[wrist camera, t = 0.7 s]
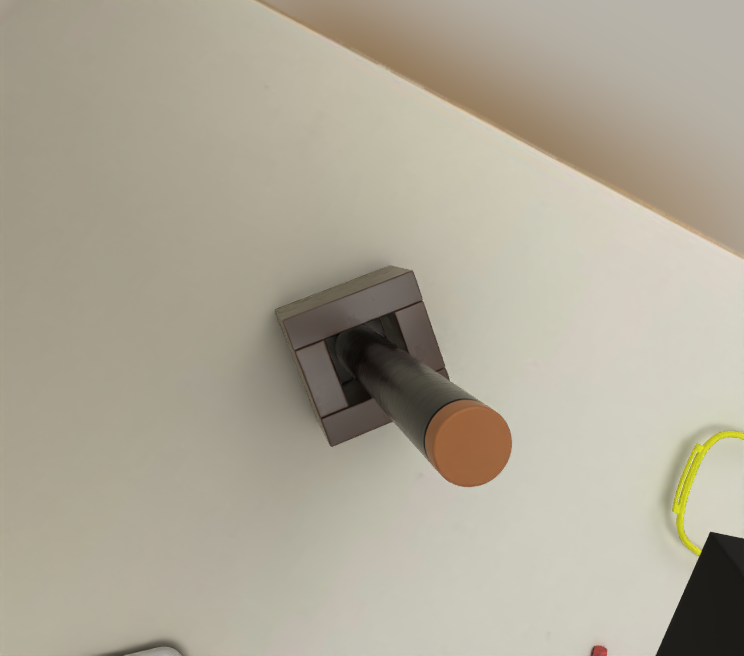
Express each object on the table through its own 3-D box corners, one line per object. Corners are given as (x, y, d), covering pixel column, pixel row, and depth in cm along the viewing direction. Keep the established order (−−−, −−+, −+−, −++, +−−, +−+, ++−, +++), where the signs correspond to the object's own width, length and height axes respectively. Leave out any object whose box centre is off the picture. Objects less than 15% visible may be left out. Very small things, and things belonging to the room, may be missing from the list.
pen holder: (274, 309, 33) (282, 320, 29) (390, 265, 34) (412, 270, 30) (318, 423, 34) (331, 448, 30) (429, 377, 35) (455, 395, 31)
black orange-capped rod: (325, 331, 34) (421, 425, 18) (367, 315, 34) (499, 393, 18) (341, 373, 34) (448, 501, 18) (382, 356, 34) (523, 468, 18)
